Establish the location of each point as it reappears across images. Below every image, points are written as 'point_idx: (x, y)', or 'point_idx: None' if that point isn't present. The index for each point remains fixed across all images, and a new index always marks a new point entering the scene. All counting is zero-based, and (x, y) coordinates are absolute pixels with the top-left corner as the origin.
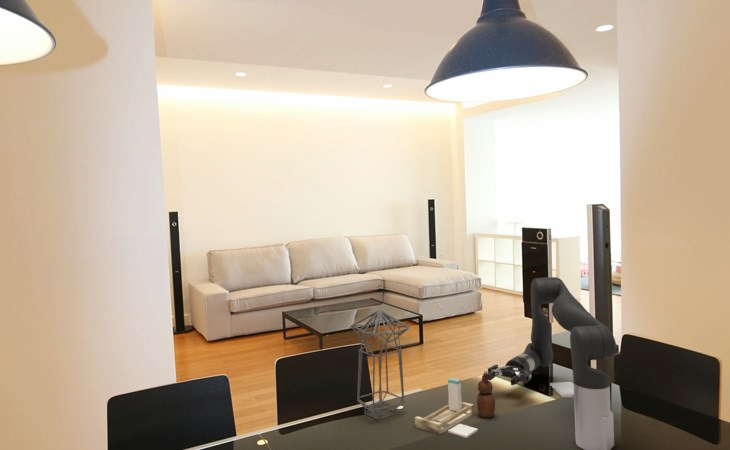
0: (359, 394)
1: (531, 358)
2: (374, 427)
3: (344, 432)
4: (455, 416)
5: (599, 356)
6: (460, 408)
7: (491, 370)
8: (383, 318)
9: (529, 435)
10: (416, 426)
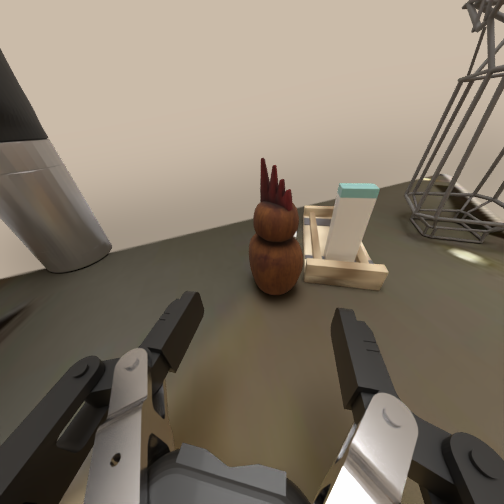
0: (496, 193)
1: None
2: (387, 208)
3: (396, 197)
4: (311, 236)
5: None
6: (325, 254)
7: (442, 465)
8: None
9: (180, 249)
10: None
